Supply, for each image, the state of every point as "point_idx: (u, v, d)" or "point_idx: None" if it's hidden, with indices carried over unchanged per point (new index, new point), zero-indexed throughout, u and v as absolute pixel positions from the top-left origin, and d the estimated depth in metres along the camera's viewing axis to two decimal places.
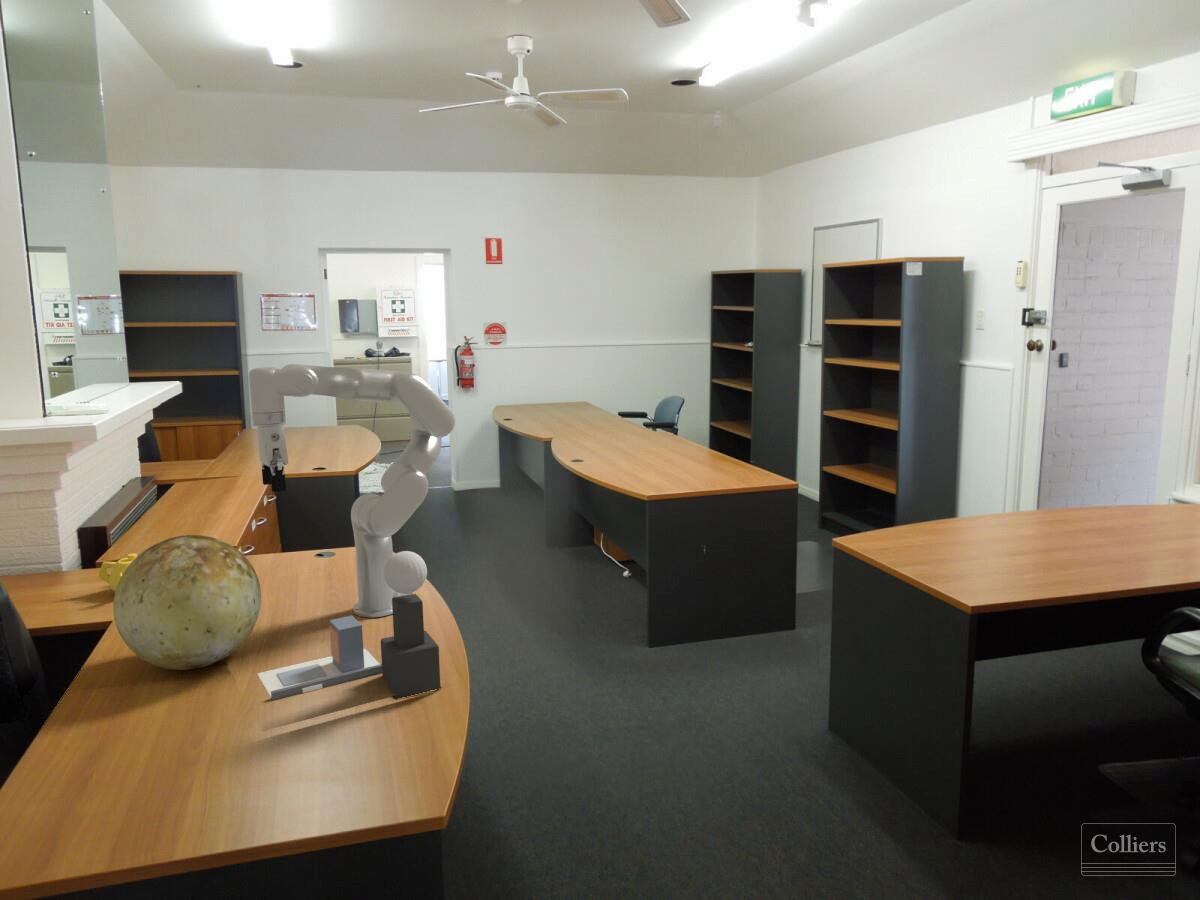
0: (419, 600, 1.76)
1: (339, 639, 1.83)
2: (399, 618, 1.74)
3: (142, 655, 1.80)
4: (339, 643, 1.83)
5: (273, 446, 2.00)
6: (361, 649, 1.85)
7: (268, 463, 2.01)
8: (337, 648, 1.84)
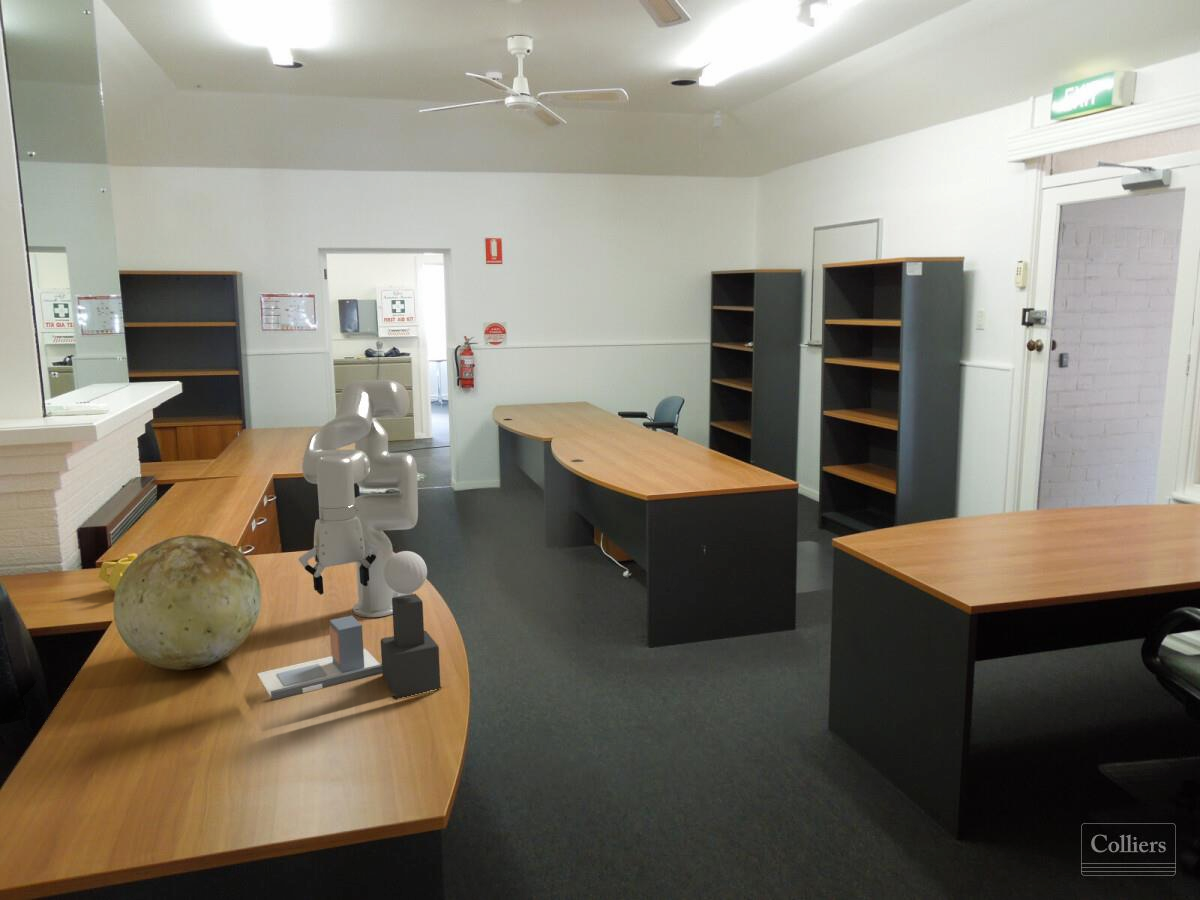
0: (419, 600, 1.76)
1: (339, 639, 1.83)
2: (399, 618, 1.74)
3: (142, 655, 1.80)
4: (339, 643, 1.83)
5: None
6: (361, 649, 1.85)
7: (363, 556, 1.84)
8: (337, 648, 1.84)
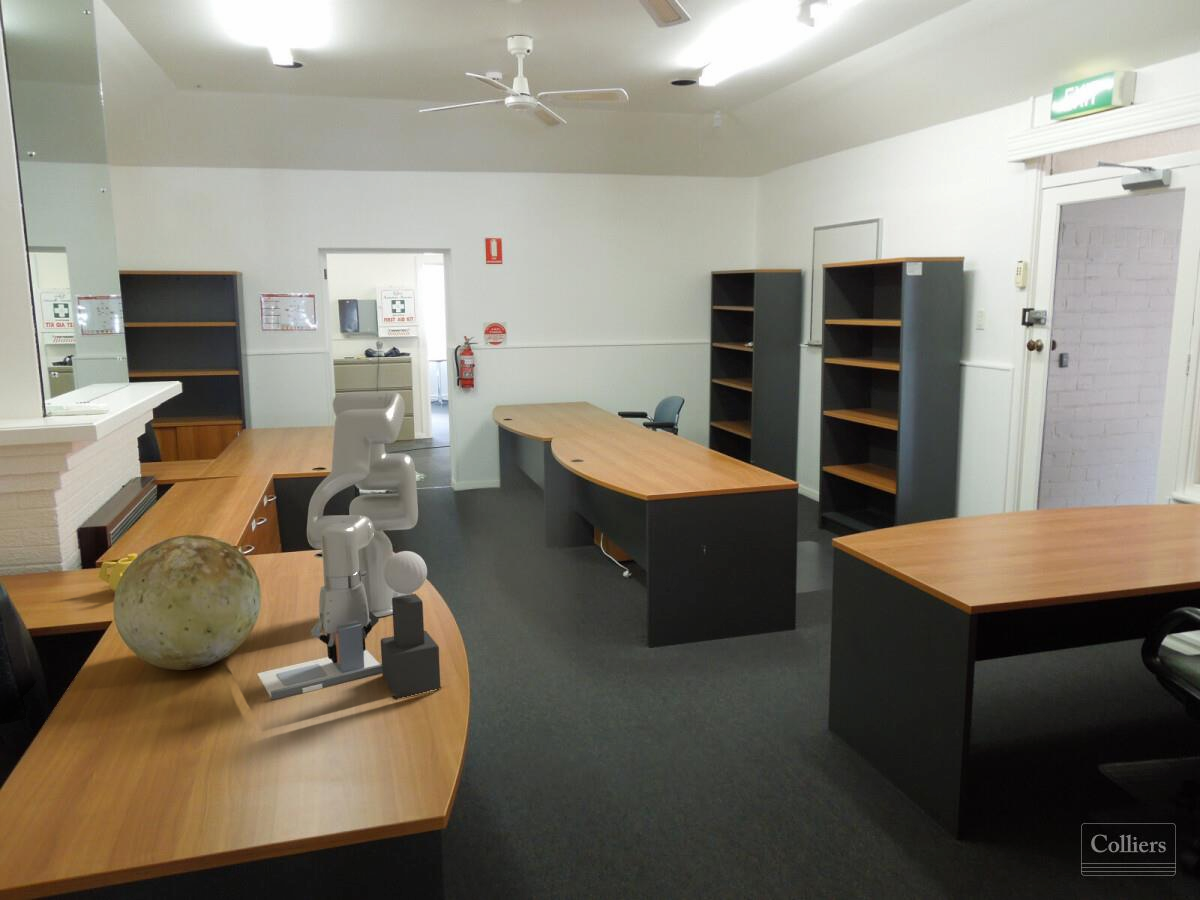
0: (419, 600, 1.76)
1: (339, 639, 1.83)
2: (399, 618, 1.74)
3: (142, 655, 1.80)
4: (339, 643, 1.83)
5: None
6: (361, 649, 1.85)
7: (367, 621, 1.87)
8: (337, 648, 1.84)
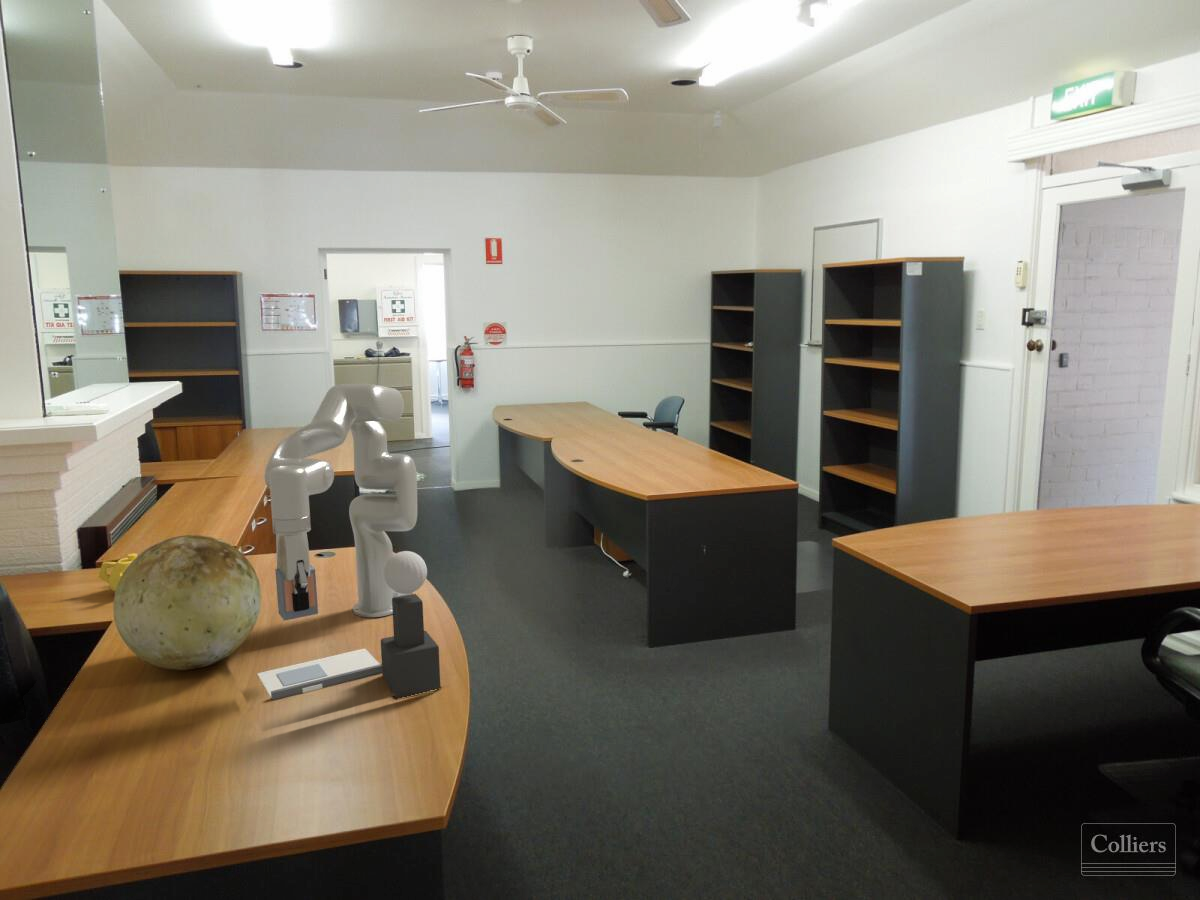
0: (419, 600, 1.76)
1: (314, 579, 1.79)
2: (399, 618, 1.74)
3: (142, 655, 1.80)
4: (314, 583, 1.79)
5: None
6: None
7: None
8: (311, 591, 1.79)
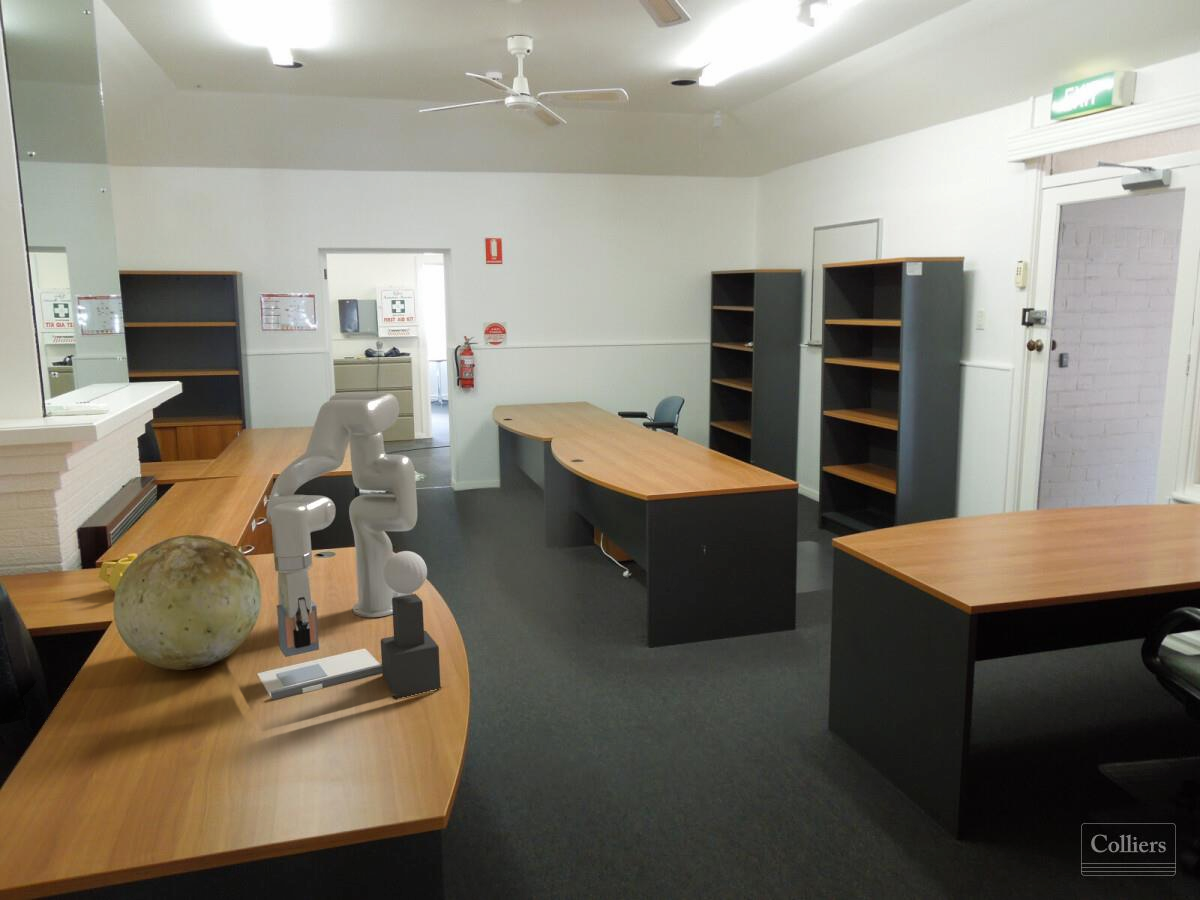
0: (419, 600, 1.76)
1: (315, 615, 1.80)
2: (399, 618, 1.74)
3: (142, 655, 1.80)
4: (315, 619, 1.80)
5: None
6: None
7: None
8: (312, 627, 1.80)
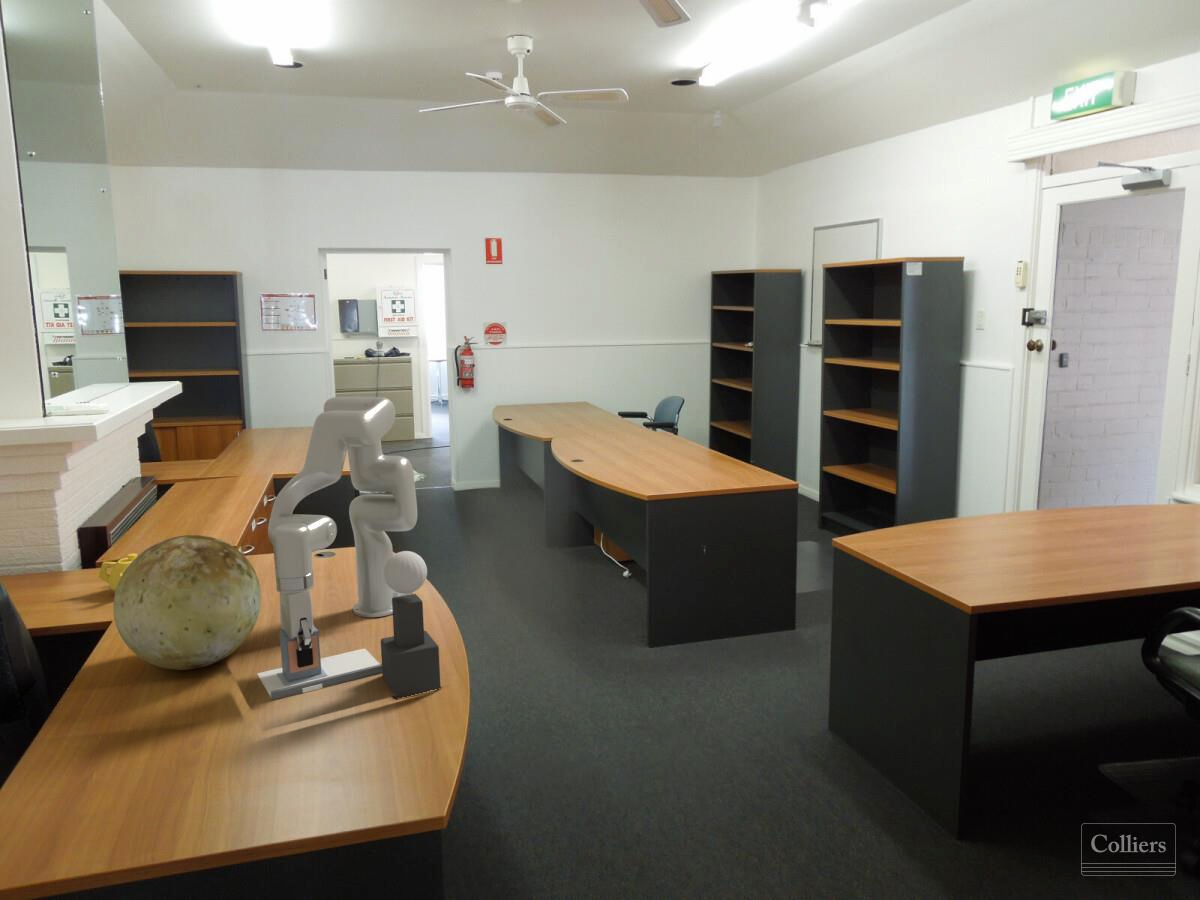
0: (419, 600, 1.76)
1: (318, 640, 1.82)
2: (399, 618, 1.74)
3: (142, 655, 1.80)
4: (318, 644, 1.82)
5: None
6: None
7: None
8: (314, 652, 1.81)
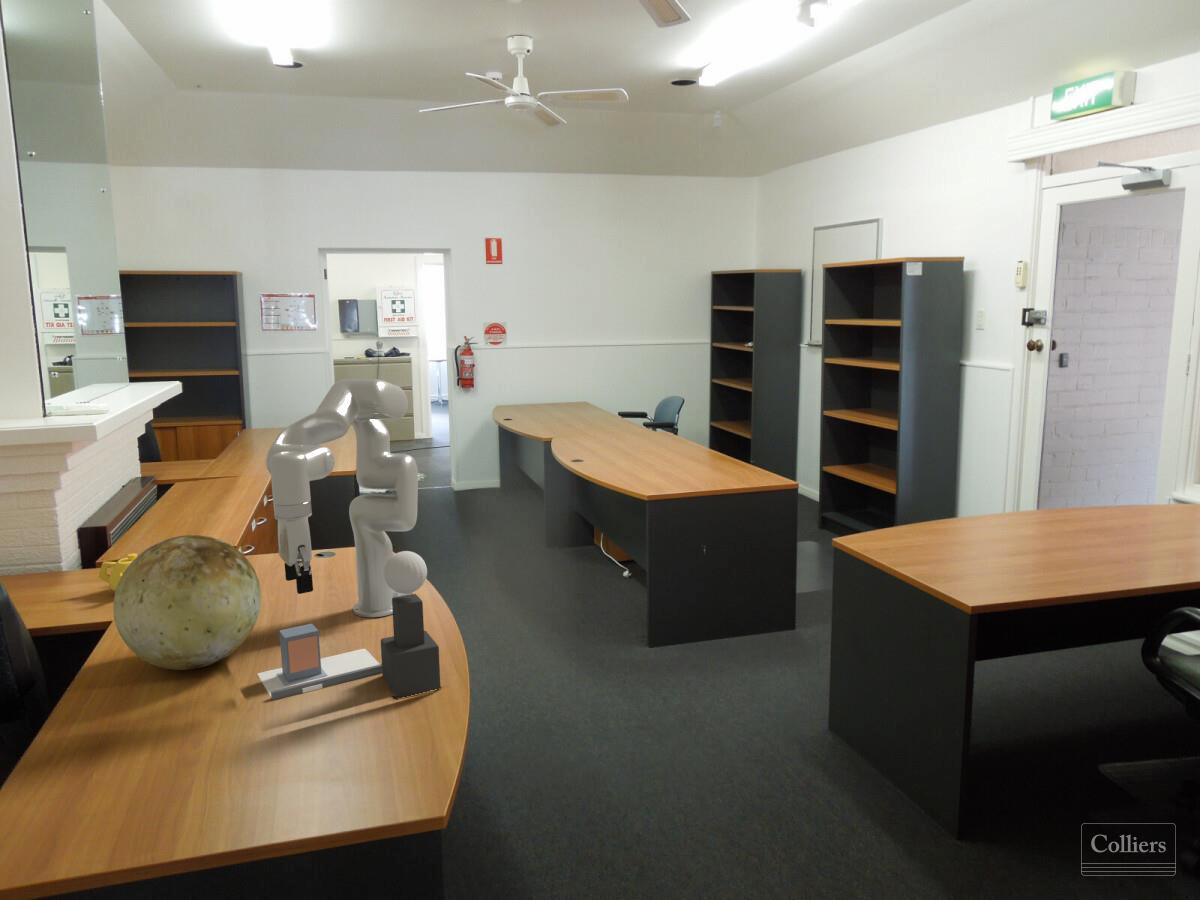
0: (419, 600, 1.76)
1: (318, 640, 1.82)
2: (399, 618, 1.74)
3: (142, 655, 1.80)
4: (318, 644, 1.82)
5: None
6: None
7: None
8: (314, 652, 1.81)
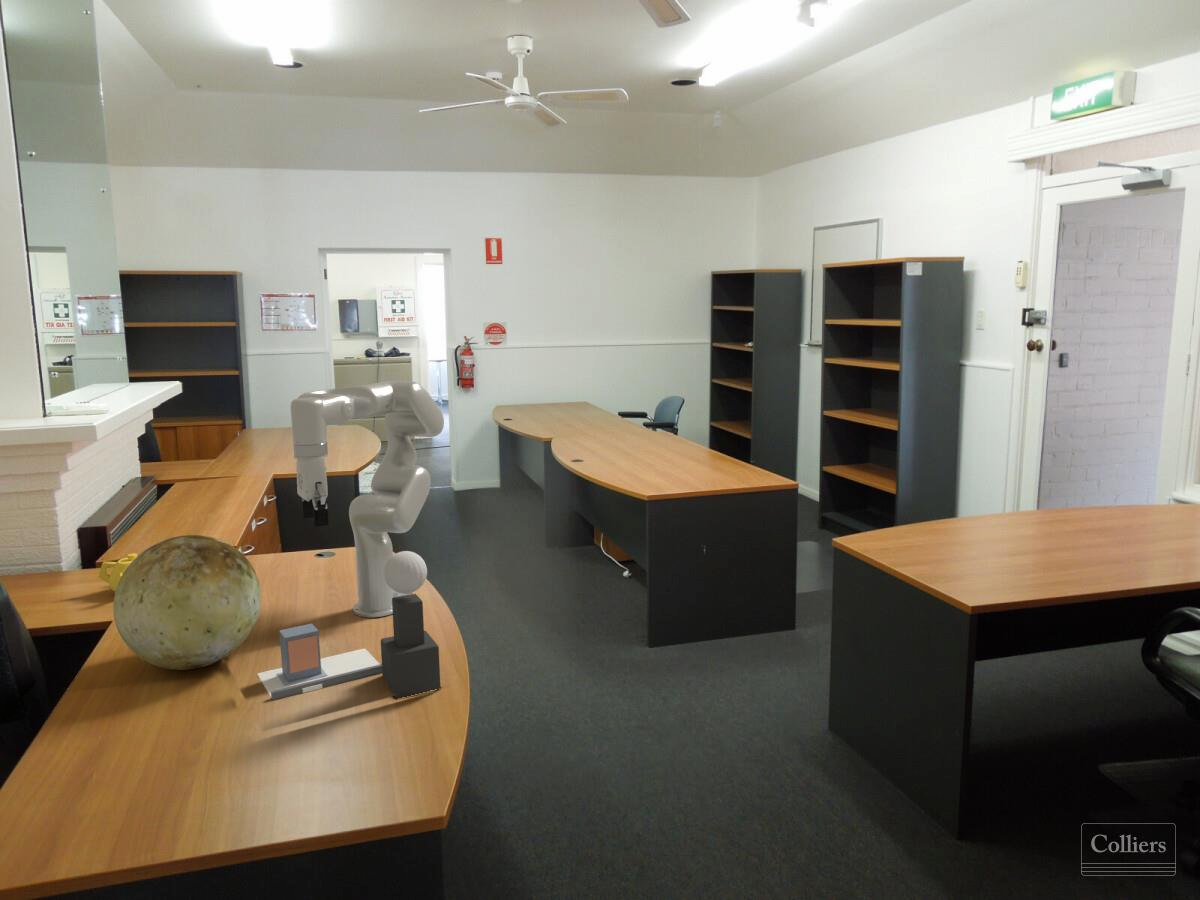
0: (419, 600, 1.76)
1: (318, 640, 1.82)
2: (399, 618, 1.74)
3: (142, 655, 1.80)
4: (318, 644, 1.82)
5: None
6: None
7: None
8: (314, 652, 1.81)
